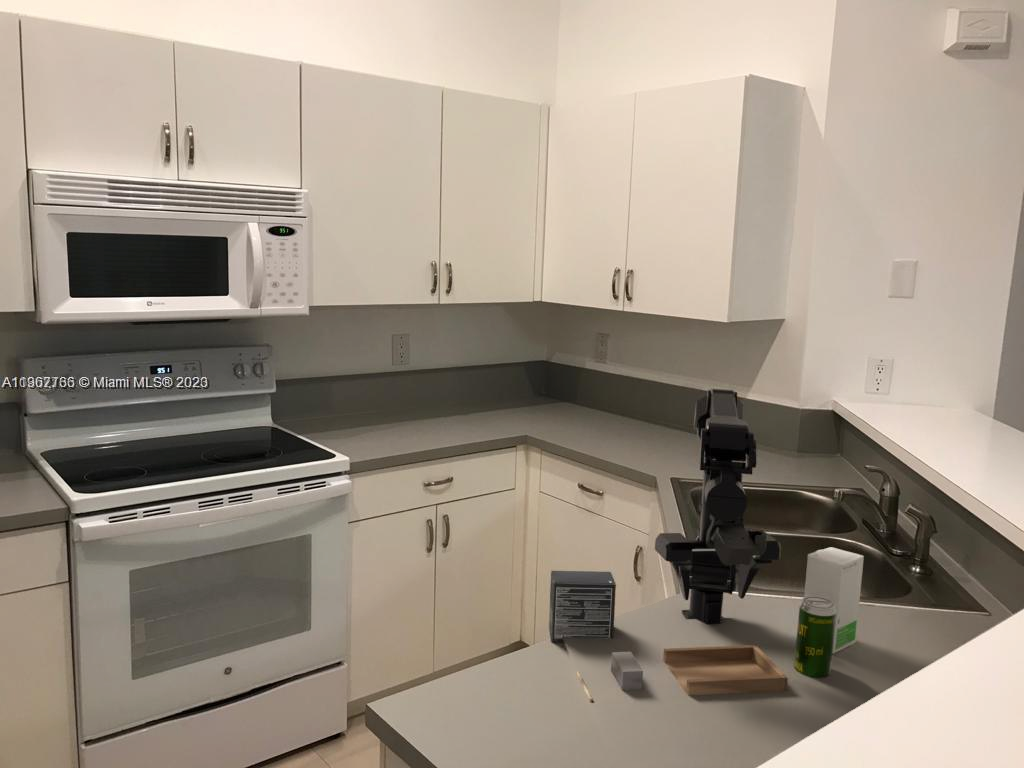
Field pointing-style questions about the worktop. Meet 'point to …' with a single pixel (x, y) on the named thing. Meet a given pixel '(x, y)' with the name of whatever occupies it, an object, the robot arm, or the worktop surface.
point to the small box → (581, 605)
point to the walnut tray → (724, 670)
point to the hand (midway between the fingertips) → (713, 598)
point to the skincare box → (837, 589)
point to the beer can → (815, 637)
